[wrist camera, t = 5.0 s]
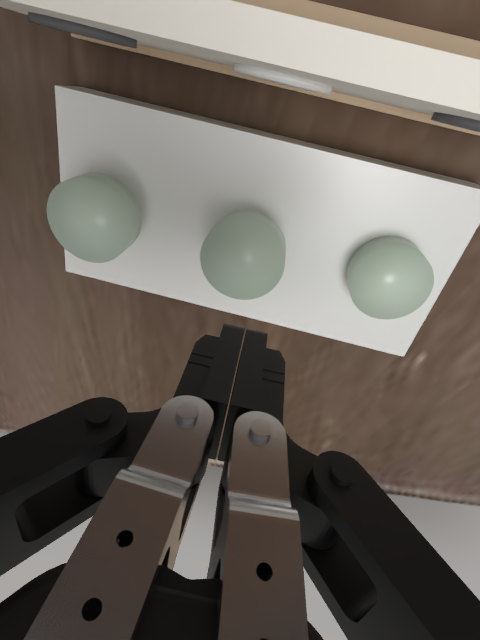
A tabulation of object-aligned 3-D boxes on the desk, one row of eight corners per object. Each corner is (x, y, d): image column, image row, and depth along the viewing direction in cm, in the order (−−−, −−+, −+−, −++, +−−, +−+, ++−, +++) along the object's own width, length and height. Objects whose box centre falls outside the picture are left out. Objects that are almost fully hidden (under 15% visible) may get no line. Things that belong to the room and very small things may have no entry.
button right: (336, 294, 25) (338, 309, 23) (362, 227, 23) (367, 238, 21) (404, 311, 25) (411, 327, 23) (438, 246, 22) (449, 258, 21)
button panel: (85, 256, 30) (65, 271, 28) (81, 86, 24) (54, 85, 21) (394, 334, 30) (403, 356, 27) (475, 183, 23) (496, 193, 21)
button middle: (202, 274, 24) (194, 288, 22) (214, 200, 21) (207, 209, 19) (274, 293, 23) (272, 308, 22) (295, 220, 21) (295, 231, 19)
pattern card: (79, 38, 22) (-137, -19, 11) (77, -51, 20) (-192, -229, 9) (498, 140, 22) (696, 183, 11) (540, 60, 20) (840, 12, 9)
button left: (67, 241, 24) (49, 252, 22) (63, 163, 21) (43, 168, 19) (139, 258, 24) (126, 271, 22) (144, 183, 21) (130, 190, 19)
